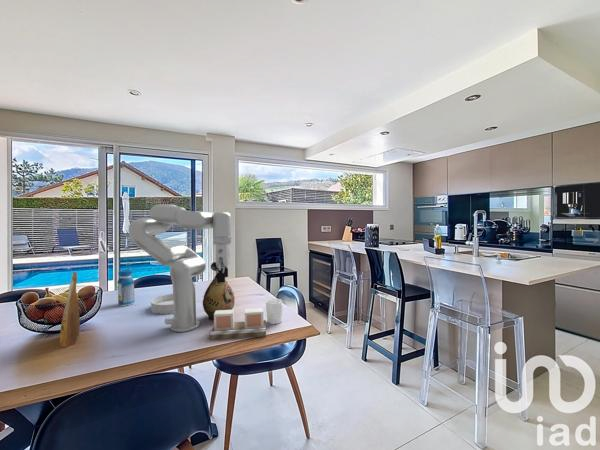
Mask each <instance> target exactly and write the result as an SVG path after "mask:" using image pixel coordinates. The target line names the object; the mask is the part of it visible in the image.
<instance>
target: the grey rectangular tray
mask: <svg viewBox="0 0 600 450" xmlns="http://www.w3.org/2000/svg"><path fill="white" fill-rule="evenodd" d="M211 329H212V330H211V331H209V340H210V341H212V340H226V339H229V340H230V339H244V338H260V337H267V319H264V328H248V329H245V321H234V329H229V330H214V326H213V328H211Z"/></svg>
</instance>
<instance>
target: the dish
mask: <svg viewBox="0 0 600 450" xmlns="http://www.w3.org/2000/svg"><path fill="white" fill-rule="evenodd" d="M150 311H152V313H153V312H154V313H153V314H157V313H160V314H159V315H168V313H170V314H174V304H173V293H169V294H164V295H159V296H157V297H154V298H153V299H152V300H151V301H150Z"/></svg>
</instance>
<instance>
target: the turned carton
mask: <svg viewBox="0 0 600 450" xmlns="http://www.w3.org/2000/svg"><path fill="white" fill-rule="evenodd" d="M234 322H235V309H232V310H216V311H215V313H214V321H213V327H214V330H229V329H234Z"/></svg>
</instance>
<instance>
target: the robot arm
mask: <svg viewBox="0 0 600 450" xmlns="http://www.w3.org/2000/svg"><path fill="white" fill-rule="evenodd" d="M149 216H150V217H147V218H145V217H144V218H143V217H142V218H138V219H135V220H133V221H131V222H130V223H129V225H128V235H129V238H130V240H131V242H133V244H134V245H136V246H137V247H138V248H139V249H140V250H143V251H144V252H146V253H147V255H149V256H150V257H152V258H153V259H154V260H155V261H156V262H157V263H159V264H160V265H162V266H164V267H169V274H170V278H171V284H172V294H173V304H174V313H173V317H171V318H165V319H164V324H165V325H170V331H172V332H175V333H183V332H184V333H185V332H190V331H193V330H196V329H197V328H199V327H200V325H201V323H200V321H199V320H198V319H197V304H196V301H197V300H196V298H197V297H196V285H195V282H194V281H193V278H194V277H197V276H200V275H202V274H203V273H204V272H205V271H206V268H207V265H206V262H205V260H204V259H203V257H202V256H200V255H199V254H197V253H196V252H195V251H194V250H193V249H191V248H190V247H189V246H187V245H185V244H180V243H179V244H169V243H166V242H165V241H163V240H162V239H161V238H159V237H156V236H158V235H159V236H160V235H163V234H164V233H166V232H167V231H169V229H170V228H171V227H173V226H174V225H175V226H178V227H181V228H183V229H190V230H191V229H192V230H206V229H207V230H208V229H212V239H213V240H212V245H215V262H216V267H217V282H218V283H220V282H225V280H226V278H228V277H229V268H228V267H229V266H230V265H231V253H230V245H232V228H231V227H232V224H231V223H232V221H231V213H230V212H227V211H218V212H215V211H192V210H187V209H186V208H185V207H184V206H178V205H175V204H165V203H164V204H163V203H161V204H160V203H159V204H155V205H153V206H152V207H151V208H150V210H149Z"/></svg>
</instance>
